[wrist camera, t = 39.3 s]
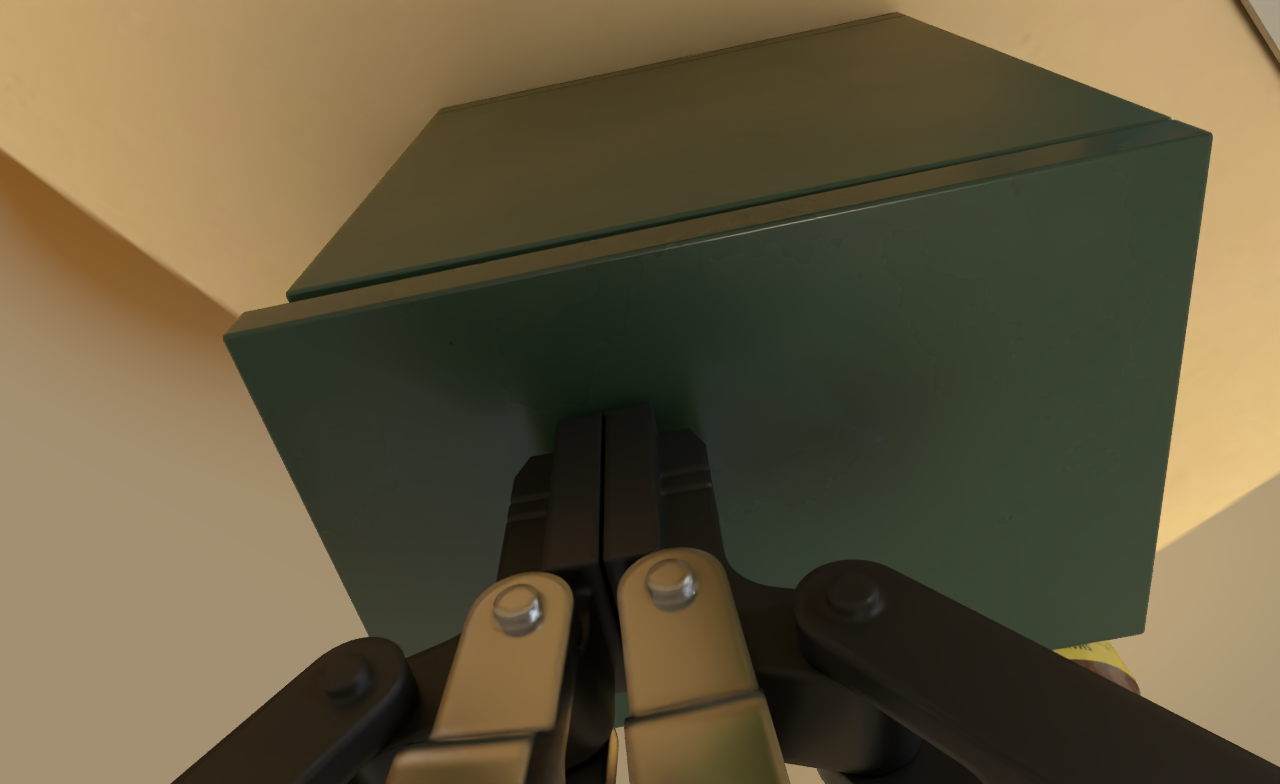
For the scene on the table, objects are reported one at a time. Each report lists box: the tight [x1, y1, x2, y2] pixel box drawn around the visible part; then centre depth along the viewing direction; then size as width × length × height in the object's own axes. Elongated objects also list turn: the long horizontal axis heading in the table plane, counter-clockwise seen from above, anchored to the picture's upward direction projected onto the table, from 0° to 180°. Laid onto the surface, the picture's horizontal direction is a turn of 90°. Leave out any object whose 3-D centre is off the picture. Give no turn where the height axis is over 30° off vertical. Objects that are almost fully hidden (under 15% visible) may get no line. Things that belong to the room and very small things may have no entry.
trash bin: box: [286, 12, 1172, 303], centre depth 21 cm, size 14×10×14 cm
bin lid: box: [223, 120, 1213, 728], centre depth 15 cm, size 14×10×1 cm
